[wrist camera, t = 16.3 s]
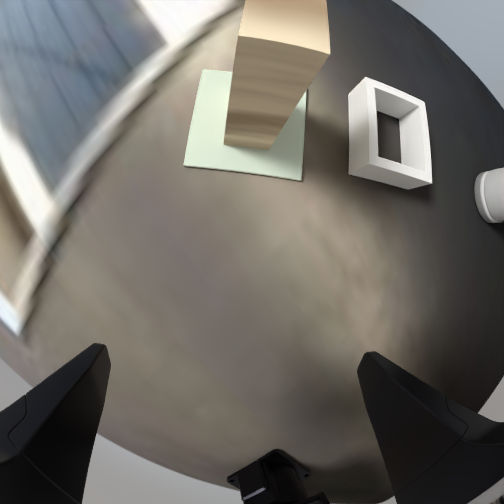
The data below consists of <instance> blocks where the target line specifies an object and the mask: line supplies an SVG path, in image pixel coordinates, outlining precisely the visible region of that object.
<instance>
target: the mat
mask: <svg viewBox="0 0 504 504" xmlns="http://www.w3.org/2000/svg"><path fill="white" fill-rule="evenodd" d="M232 73H233V72H226V71H216V70H204V69H203V71H202V75H201V80H200V84H199V88H198V93H197V97H196V102H195V107H194V111H193V116H192V121H191V127H190V132H189V137H188V143H187V148H186V154H185V160H184V166H186V167H198V168H208V169H217V170H226V171H235V172H243V173H250V174H258V175H265V176H272V177H278V178H285V179H291V180H297V181H301V177H302V163H303V148H304V130H305V110H306V92H305V93H304V95H303V96H302V98H301V99H300V101H299V103H298V104H297V106H296V107H295V109H294V110H293V112H292V114H291V115H290V117H289V118H288V120H287V122H286V123H285V125H284V126H283V128H282V130H281V131H280V133H279V134H278V136H277V138H276V139H275V141H274V143H273V144H272V146H271V147H270V149H269V150H262V149H255V148H248V147H240V146H232V145H223V143H224V134H225V126H226V118H227V110H228V102H229V95H230V87H231V80H232Z"/></svg>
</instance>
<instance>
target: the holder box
mask: <svg viewBox="0 0 504 504" xmlns="http://www.w3.org/2000/svg"><path fill="white" fill-rule="evenodd" d="M348 100H349V173H348V174H349V175H353V176H358V177H362V178H366V179H370V180H374V181H378V182H382V183H386V184H389V185H393V186H397V187H400V188H404V189H407V190H409V189H413V188H417V187H420V186H424V185H428V184H432V169H431V153H430V141H429V131H428V123H427V115H426V108H425V102H423V101H421V100H419V99H417V98H415V97H413V96H411V95H408V94H406V93H404V92H402V91H399V90H397V89H395V88H392V87H390V86H388V85H385V84H383V83H380V82H378V81H375V80H372V79H370V78H367V77H365V78H364V79H363V80H362V81H361V82H360V83H359V84H358V85H357V86H356V87H355V88H354V89H353V90H352V91H351V92H350V93H349V94H348ZM376 111H379V112H382V113H385V114H387V115H390V116H393V117H395V118H398V119H399V126H400V140H401V162H402V164H400V163H397V162H394V161H391V160H388V159H384V158H381V157H378V133H377V114H376Z"/></svg>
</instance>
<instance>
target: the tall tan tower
mask: <svg viewBox="0 0 504 504" xmlns="http://www.w3.org/2000/svg"><path fill="white" fill-rule="evenodd" d="M329 55H330V41H329V27H328V15H327V4H326V0H246V1H245V6H244V11H243V15H242V20H241V25H240V30H239V35H238V41H237V47H236V53H235V60H234V66H233V73H232V80H231V87H230V95H229V102H228V110H227V118H226V126H225V134H224V143H223V145H232V146H240V147H248V148H255V149H262V150H269V149H270V147H271V146H272V144H273V143H274V141H275V139H276V138H277V136H278V134H279V133H280V131H281V130H282V128H283V126H284V125H285V123H286V122H287V120H288V118H289V117H290V115H291V114H292V112H293V110H294V109H295V107H296V106H297V104H298V103H299V101H300V99H301V98H302V96H303V95H304V93H305V92H306V90H307V89H308V87H309V86H310V84H311V83H312V81H313V79H314V78H315V76H316V75H317V73H318V72H319V70H320V69H321V67H322V66H323V64H324V63H325V61H326V60H327V58H328V57H329Z"/></svg>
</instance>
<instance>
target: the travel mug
mask: <svg viewBox="0 0 504 504" xmlns="http://www.w3.org/2000/svg"><path fill="white" fill-rule="evenodd" d="M474 193H475V201H476V205H477V208H478V211H479V213H480V215H481V216H482V218H483V219H484V220H485V221H486V222H488V223H497V222H504V168H500V169H495V170H491V171H487V172H483V173H480V174H479V175H478V176H477V178H476V181H475V187H474Z"/></svg>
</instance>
